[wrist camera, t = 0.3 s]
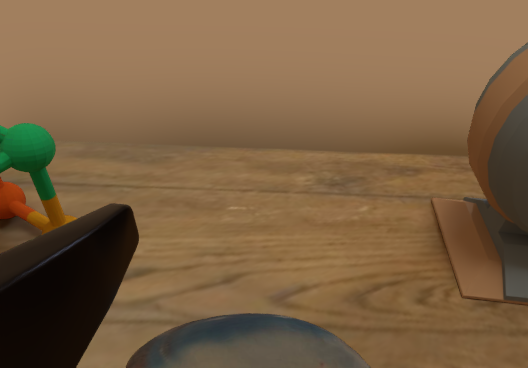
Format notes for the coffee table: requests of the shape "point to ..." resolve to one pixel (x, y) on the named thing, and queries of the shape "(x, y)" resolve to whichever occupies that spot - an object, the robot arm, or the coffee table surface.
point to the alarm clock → (494, 193)
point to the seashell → (246, 345)
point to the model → (33, 161)
